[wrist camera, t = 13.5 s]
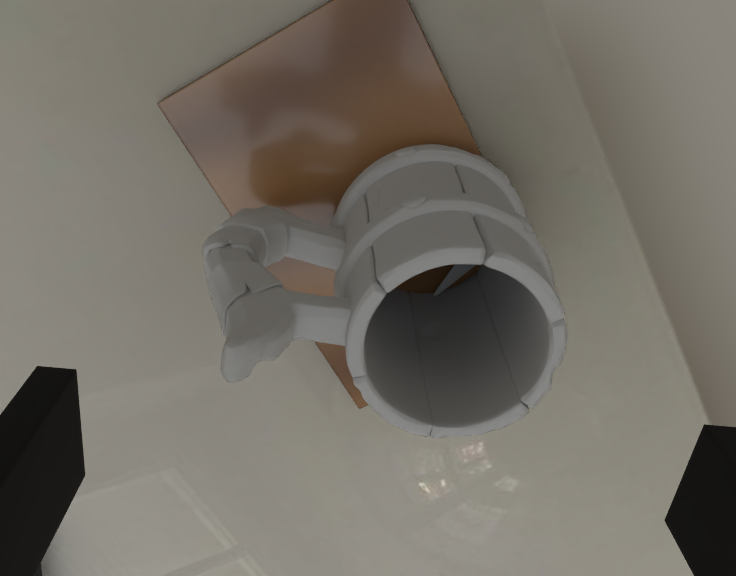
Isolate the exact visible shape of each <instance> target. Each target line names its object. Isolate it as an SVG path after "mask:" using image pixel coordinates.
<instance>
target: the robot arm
mask: <svg viewBox="0 0 736 576" xmlns="http://www.w3.org/2000/svg"><path fill="white" fill-rule="evenodd" d="M84 476H85V467H84V455H83V443H82V432H81V420H80V408H79V396H78V384H77V372H76V369H65V368H53V367H42V366H37V367H36V368H35V370H34V371H33V372H32V374H31V375H30V376H29V378H28V379H27V380H26V382H25V383H24V384H23V386H22V387H21V388H20V390H19V391H18V392H17V394H16V395H15V396H14V398H13V399H12V400H11V402H10V403H9V404H8V406H7V407H6V408H5V409H4V411H3V412H2V413H1V415H0V576H34V574H35V572H36V570H37V569H38V567H39V565H40V563H41V561H42V559H43V557H44V555H45V553H46V551H47V549H48V547H49V545H50V543H51V541H52V539H53V537H54V535H55V533H56V531H57V529H58V527H59V525H60V523H61V522H62V520H63V518H64V516H65V514H66V512H67V510H68V508H69V506H70V504H71V502H72V500H73V498H74V496H75V494H76V492H77V490H78V488H79V486H80V484H81V482H82V480H83V478H84ZM665 522H666V524H667V526H668V528H669V530H670V532H671V533H672V535H673V537H674V539H675V541H676V543H677V545H678V546H679V548H680V550H681V552H682V554H683V556H684V558H685V560H686V561H687V563H688V565H689V567H690V569H691V571H692V573H693V574H694V576H736V427H726V426H714V425H704V426H703V428H702V431H701V433H700V436H699V438H698V440H697V443H696V445H695V448H694V450H693V453H692V455H691V457H690V460H689V462H688V465H687V467H686V470H685V472H684V474H683V477H682V479H681V482H680V484H679V487H678V489H677V491H676V494H675V496H674V499H673V501H672V504H671V506H670V508H669V511H668V513H667V516H666V518H665Z"/></svg>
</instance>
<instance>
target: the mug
mask: <svg viewBox="0 0 736 576" xmlns="http://www.w3.org/2000/svg"><path fill="white" fill-rule="evenodd" d="M203 256H204V268H205V272H206V275H207V280H208V286H209V290H210V292H211V300H212V302H213V304H214V307H215V309H216V312H217V314H218V317H219V321H220V324H221V328H222V335H223V336H226V342H225V344H224V347H223V351H222V362H221V373H222V376H223V377H224V379H225V380H226V381H227V382H239V381H241V380H243V379H245V378H246V377H248V376H249V375H250V373H251V371H252V369H253V367H254V366H255V364H256V363H258V362H259V361H262V360H266V361H270V360H275V359H276V358H277V357H279V355H280V354H281V353H282V352H283V350H284V349H285V348H286V347H287V346H288V345H289V344H290V342H291V340H295V339H304V340H311V341H316V342H321V343H328V344H336V345H342V346H345V351H346V361H347V366H348V368H349V371H350V373H351V375H352V377H353V383H354V385H355V387H356V388H358V389H359V390H360V391H361V394H362V397H363V399H364V400H365V402H366V403H367V404H369V406H370V407H371V408H372V409H373V410H374V411H375V412H376V413H377V414H379V415H380V416H381V417H382V418H383V419H384V420H386V421H387V422H389V423H391V424H392V425H394V426H396V427H398V428H400V429H403V430H405V431H407V432H410V433H413V434H417V435H421V436H425V437H427V436H428V435H429V433H430V436H431V437H432V438H443V437H448V436H472V435H479V434H483V433H486V432H490V431H493V430H496V429H498V428H501V427H505V426H507V425H509V424H511V423H513V422H515V421H517V420H519V419H520V418H522V417H523V416H525V415H526V414H527V413H528V412H529V408H528V406H530V407H531V408H534V407H535V406H536V404H537V403H538V402H539V401H540V399H541V398H542V397H543V396H544V395H545V394H546V393H547V392H548V391H549V390H550V388H551V384H552V374H553V371H554V369H555V368H556V366H558V365H560V364H561V362H562V360H563V357H564V353H565V349H566V343H567V326H566V322H565V319H564V318H565V313H564V310H563V307H562V304H561V302H560V299H559V297H558V295H557V293H556V291H555V285H554V280H553V275H552V270H551V266H550V261H549V258H548V256H547V254H546V252H545V250H544V249H543V247H542V245H541V243H540V242H539V240H538V238H537V237H536V235H535V234H534V233H533V227H532V225H531V224H530V223H529V222H528V220H527V217H526V213H525V210H524V207H523V204H522V202H521V200H520V198H519V196H518V194H517V192H516V190H515V189H514V187H513V186H512V184H511V183H510V182H509V179H508V177H507V175H506V174H505V173H503V172H502V171H501V170H500V169H498V168H496V167H495V166H494V165H493V164H491V163H490V162H489V161H487V160H486V159H484V158H482V157H481V156H479V155H475V154H472V153H470V152H467V151H464V150H461V149H459V148H456V147H449V146H445V145H439V144H424V145H416V146H411V147H406V148H402V149H400V150H397V151H394V152H392V153H390V154H388V155H386V156H384V157H382V158H380V159H379V160H377V161H375V162H374V163H373V164H371V165H370V166H369V167H368V168H366V169H365V170H364V171H363V172H362V173H361V174H360V175H359V176H358V177H357V178H356V179H355V180H354V181H353V182H352V184H351V185H350V186H349V188H348V189H347V191H346V192H345V194H344V195H343V197H342V199H341V201H340V203H339V205H338V208H337V211H336V214H335V215H334V216H333V219H332V222H331V227H330V226H326V225H321V224H317V223H314V222H311V221H307V220H304V219H301V218H299V217H296V216H294V215H292V214H290V213H288V212H286V211H284V210H283V209H280V208H276V207H274V206H268V205H265V206H263V207H259V208H256V209H251V208H243V209H241V210H240V211H238V212H237V213H236V214H235V215H234V216H232V217H231V218H230V219H228V220H227V221H226V222H224V223H223V224H222V225H220V226H219V227H218V230H217V232H215V233H214V234H213V235H211V236H210V237H209V238H208V239H207V240H206V241H205V242H204V244H203ZM284 256H286V257H290V258H293V259H297V260H301V261H304V262H308V263H311V264H314V265H318V266H321V267H325V268H330V269H334V270H335V271H336V274H335V280H334V297H332V296H320V295H314V294H308V293H301V292H296V291H291V290H287V289H284V287H283V283H282V282H280V281H279V280H277V279H276V278H275V277H274V276H273V275H272V274H271V273H270V272H269V271H268V270H267V268H266V267H267V266H269V265H271V264H272V263H275V262H278V261H280V260H281V259H283V258H284ZM453 264H455V265H454V266H453V268H452V269H451V271H450V272H449V273H448V275H447V276H446V278H445V279H444V280H443V282H442V283H441V285H440V286H439V287H438V289H437V290H436V292H435V293H415V292H409V294H408V292H406V291H404V290H398V289H395V288H396V287H397V286H398V285H400V284H401V283H403V282H404V281H406V280H408V279H409V278H411V277H413V276H415V275H417V274H419V273H422V272H424V271H427V270H430V269H433V268H436V267H441V266H445V265H453ZM481 264H483V265H482V266H481V267H480V268H479V269H478V270H477V274H476V273H474V274H473V275H471V276H470V277H469V278H468V279H467V280H465V281H464V282H462V283H461V284H459V285H457V286H455V287H452V288H450V289H447V290H445V289H446V288H447V287H449V286H450V285H451V284H452V283H454V282H455V281H456V280H458V279H459V278H460V277H461V276H463V275H464V274H465V273H466V272H468V271H469V270H470V269H472V268H473V267H474V266H475V265H481ZM443 290H444V291H443Z"/></svg>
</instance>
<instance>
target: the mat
mask: <svg viewBox="0 0 736 576" xmlns="http://www.w3.org/2000/svg"><path fill="white" fill-rule="evenodd" d="M157 104H158V106H159V108H160V109H161V111H162V112H163V114H164V115H165V117H166V118H167V120H168V121H169V123H170V124H171V126H172V127H173V129H174V130H175V132H176V133H177V135H178V136H179V138H180V139H181V141H182V142H183V144H184V145H185V147H186V148H187V150H188V151H189V153H190V154H191V156H192V157H193V159H194V160H195V162H196V163H197V165H198V166H199V168H200V169H201V171H202V172H203V174H204V175H205V177H206V178H207V180H208V181H209V183H210V184H211V186H212V187H213V189H214V191H215V192H216V194H217V195H218V197H219V198H220V200H221V201H222V203H223V204H224V206H225V207H226V209H227V210H228V212H229V213H230V215H231V216H234V215H235V214H236V213H237V212H238V211H240V210H241V209H243V208H251V209H256V208H259V207H263V206H265V205H268V206H274V207H276V208H280V209H283V210H284V211H286V212H288V213H290V214H292V215H294V216H296V217H299V218H301V219H304V220H307V221H311V222H314V223H317V224H321V225H326V226H330V227H331V222H332V219H333V216H334V215H335V214H336V211H337V208H338V205H339V203H340V201H341V199H342V197H343V195H344V194H345V192H346V191H347V189H348V188H349V186H350V185H351V184H352V182H353V181H354V180H355V179H356V178H357V177H358V176H359V175H360V174H361V173H362V172H363V171H364V170H365V169H366V168H368V167H369V166H370V165H371V164H373V163H374V162H375V161H377V160H379V159H380V158H382V157H384V156H386V155H388V154H390V153H392V152H394V151H397V150H400V149H402V148H406V147H411V146H416V145H424V144H439V145H445V146H449V147H456V148H459V149H461V150H464V151H467V152H470V153H472V154H475V155H479V156H481V154H480V151H479V149H478V147H477V145H476V143H475V141H474V139H473V137H472V135H471V132H470V130H469V128H468V126H467V124H466V122H465V120H464V118H463V116H462V113H461V111H460V109H459V107H458V105H457V103H456V101H455V99H454V97H453V95H452V92H451V90H450V88H449V86H448V84H447V82H446V80H445V78H444V76H443V73H442V71H441V69H440V67H439V65H438V63H437V61H436V59H435V57H434V54H433V52H432V50H431V48H430V46H429V44H428V42H427V40H426V38H425V35H424V33H423V31H422V29H421V27H420V25H419V23H418V21H417V19H416V16H415V14H414V12H413V10H412V8H411V6H410V4H409V2H408V0H331V1H329V2H328V3H326V4H324V5H322V6H321V7H319V8H317V9H316V10H314V11H312V12H311V13H309V14H307V15H305V16H304V17H302V18H300V19H299V20H297V21H295V22H294V23H292V24H290V25H289V26H287V27H285V28H283V29H282V30H280V31H278V32H277V33H275V34H273V35H272V36H270V37H268V38H266V39H265V40H263V41H261V42H260V43H258V44H256V45H255V46H253V47H251V48H250V49H248V50H246V51H244V52H243V53H241V54H239V55H238V56H236V57H234V58H233V59H231V60H229V61H227V62H226V63H224V64H222V65H221V66H219V67H217V68H216V69H214V70H212V71H211V72H209V73H207V74H205V75H204V76H202V77H200V78H199V79H197V80H195V81H194V82H192V83H190V84H188V85H187V86H185V87H183V88H182V89H180V90H178V91H177V92H175V93H173V94H172V95H170V96H168V97H166V98H165V99H163V100H161V101H160V102H158V103H157ZM481 157H482V156H481ZM454 265H455V264H453V265H445V266H441V267H436V268H433V269H430V270H427V271H424V272H422V273H419V274H417V275H415V276H413V277H411V278H409V279H408V280H406V281H404V282H403V283H401V284H400V285H398V286H397V287H396V288H395V289H398V290H404V291H406V292H408V294H409V292H415V293H435V292H436V290H437V289H438V287H439V286H440V285H441V283H442V282H443V280H444V279H445V278H446V276H447V275H448V273H449V272H450V271H451V269H452V268H453V266H454ZM482 265H483V264H481V265H475V266H474V267H473V268H472V269H470V270H469V271H468V272H466V273H465V274H464V275H463V276H461V277H460V278H459V279H458V280H456V281H455V282H454V283H452V284H451V285H450V286H449V287H447V288H446V289H445V290H447V289H450V288H452V287H455V286H457V285H459V284H461V283H462V282H464V281H465V280H467V279H468V278H469V277H470V276H471V275H473V274H474V273H476V274H477V270H478V269H479V268H480V267H481V266H482ZM266 268H267V270H268V271H269V272H270V273H271V274H272V275H273V276H274V277H275V278H276V279H277V280H279V281H280V282H282V283H283V287H284V289H287V290H291V291H296V292H301V293H308V294H314V295H320V296H332V297H334V280H335V274H336V271H335V270H334V269H330V268H325V267H321V266H318V265H314V264H311V263H308V262H304V261H301V260H297V259H293V258H290V257H286V256H284V258H283V259H281V260H280V261H278V262H275V263H272V264H271V265H269V266H267V267H266ZM443 291H444V290H443ZM315 343H316V344H317V346H318V347H319V349H320V350H321V352H322V353H323V355H324V356H325V358H326V359H327V361H328V363H329V364H330V366H331V367H332V369H333V370H334V372H335V373H336V375H337V376H338V378H339V379H340V381H341V382H342V384H343V385H344V387H345V388H346V390H347V391H348V393H349V394H350V396H351V397H352V399H353V400H354V402H355V403H356V405H357V406H358V408H359V409H360V408H363V407H365V406H367V405H369V404H367V403H366V402H365V400H364V399H363V397H362V394H361V391H360V390H359V389H358V388H356V387H355V385H354V383H353V377H352V375H351V373H350V371H349V368H348V366H347V361H346V351H345V346H342V345H336V344H328V343H321V342H316V341H315Z"/></svg>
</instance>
